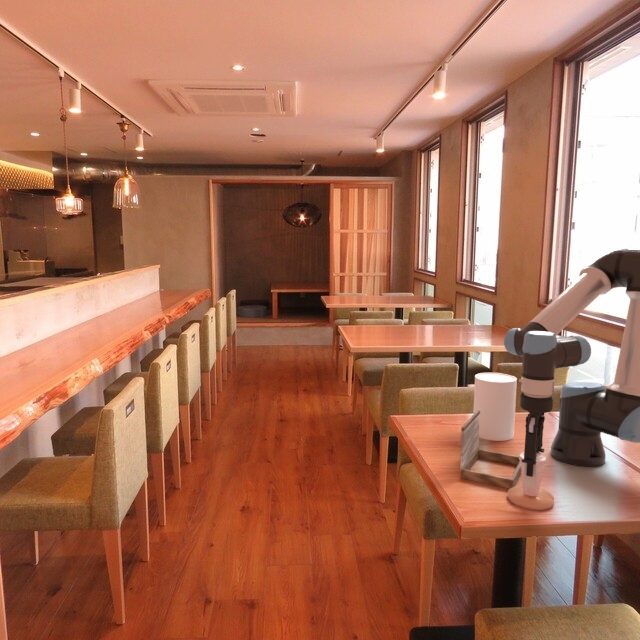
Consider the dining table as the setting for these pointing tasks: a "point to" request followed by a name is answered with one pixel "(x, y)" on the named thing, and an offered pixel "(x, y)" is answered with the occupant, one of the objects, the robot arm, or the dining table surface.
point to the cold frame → (473, 453)
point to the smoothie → (539, 471)
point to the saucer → (530, 499)
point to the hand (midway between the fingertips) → (531, 481)
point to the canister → (495, 405)
